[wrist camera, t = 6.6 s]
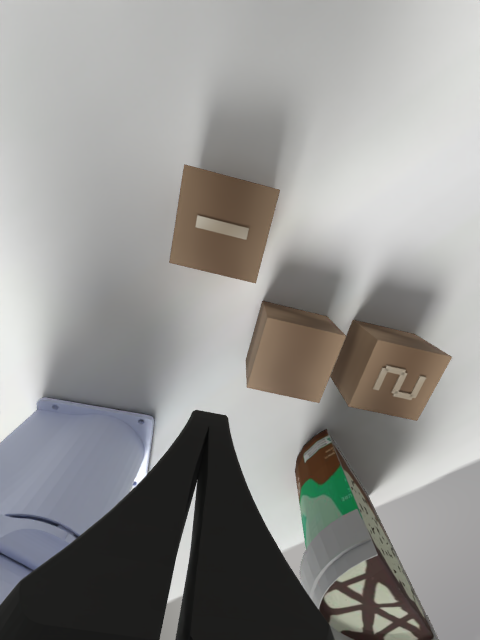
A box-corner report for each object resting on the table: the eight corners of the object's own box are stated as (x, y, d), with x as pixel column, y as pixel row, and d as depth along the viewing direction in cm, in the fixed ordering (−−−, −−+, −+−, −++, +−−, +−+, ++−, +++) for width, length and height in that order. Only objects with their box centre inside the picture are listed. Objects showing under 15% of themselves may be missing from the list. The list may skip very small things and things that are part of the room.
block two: (329, 375, 22) (349, 407, 18) (352, 319, 20) (378, 340, 16) (386, 388, 22) (418, 421, 18) (413, 333, 21) (453, 357, 17)
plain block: (245, 359, 21) (246, 387, 18) (262, 300, 20) (267, 317, 16) (305, 372, 22) (319, 402, 18) (326, 315, 20) (346, 336, 16)
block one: (183, 255, 19) (168, 263, 15) (196, 178, 17) (183, 163, 13) (252, 272, 19) (255, 283, 15) (271, 198, 18) (280, 189, 14)
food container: (256, 446, 24) (267, 588, 15) (318, 416, 23) (373, 548, 14) (318, 528, 27) (358, 686, 18) (374, 505, 26) (449, 661, 17)
